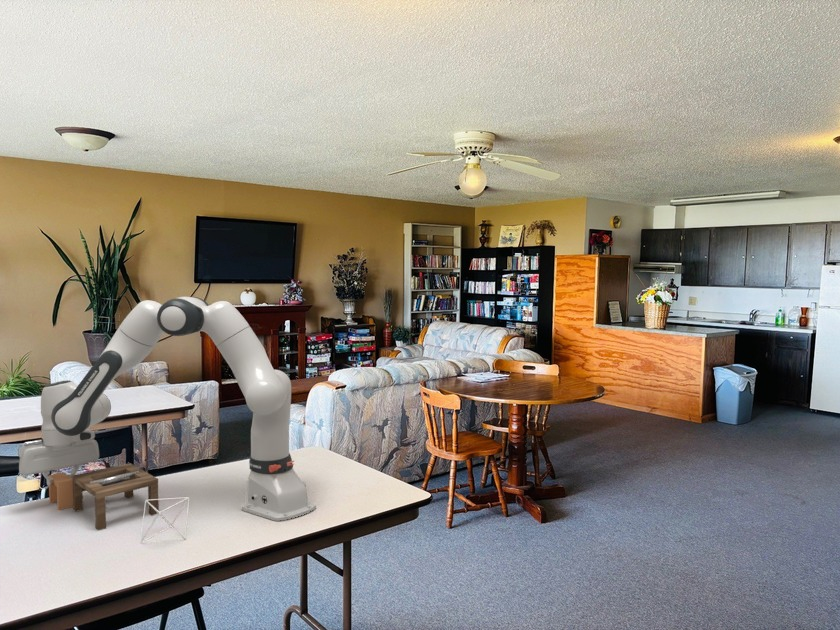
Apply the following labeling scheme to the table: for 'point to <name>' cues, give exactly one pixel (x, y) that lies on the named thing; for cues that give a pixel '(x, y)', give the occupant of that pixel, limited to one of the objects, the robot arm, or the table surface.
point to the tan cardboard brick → (61, 490)
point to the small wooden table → (113, 489)
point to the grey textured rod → (115, 478)
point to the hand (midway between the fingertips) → (61, 482)
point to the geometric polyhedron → (164, 519)
